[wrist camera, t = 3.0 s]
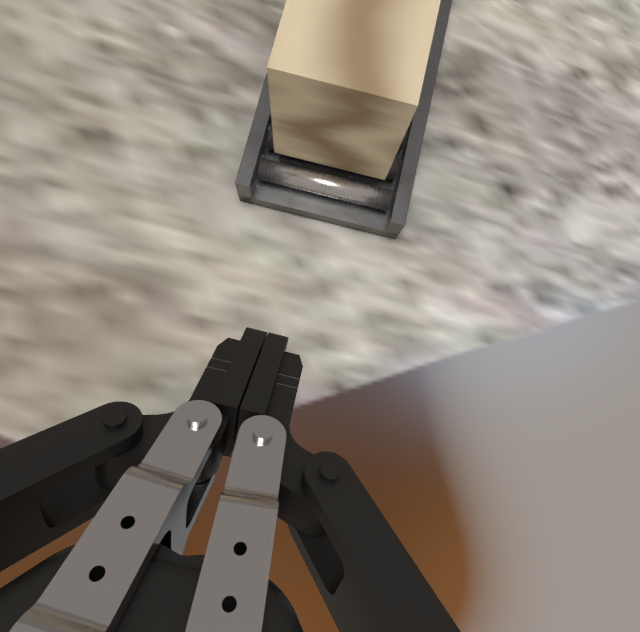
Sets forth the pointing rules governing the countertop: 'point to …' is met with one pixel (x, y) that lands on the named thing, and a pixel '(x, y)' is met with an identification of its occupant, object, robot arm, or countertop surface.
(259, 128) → the roller track
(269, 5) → the countertop surface
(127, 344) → the countertop surface
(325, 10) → the birch slab
